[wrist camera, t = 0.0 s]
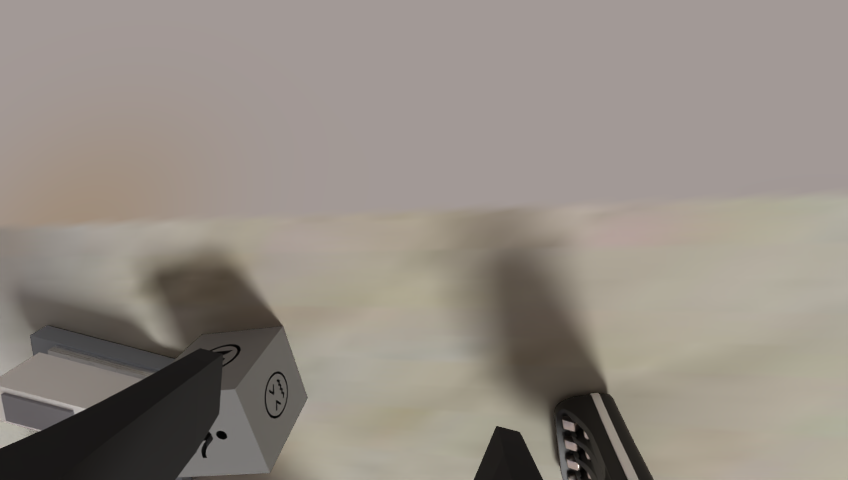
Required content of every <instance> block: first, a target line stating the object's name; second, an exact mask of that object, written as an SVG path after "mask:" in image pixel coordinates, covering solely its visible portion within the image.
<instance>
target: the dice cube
mask: <svg viewBox="0 0 848 480" xmlns="http://www.w3.org/2000/svg"><path fill="white" fill-rule="evenodd" d="M199 348H202V349H206V350H209V351H213V352H217V353H221V354H223V366H222V380H221V395H220V410H219V415H218V417H217V418H216V420H215V422H214V423H213V425H212V427H211V429H210V430H209V432H208V434H207V435H206V437H205V438H204V440H203V442H202V443H201V445H200V446H199V448H198V450H197V451H196V453H195V454H194V456H193V457H192V458H191V460H190V461H189V462H188V464H187V465H186V466H185V468H184V469H183V470H182V472H181V473H180V474H179V475H178V477H198V476H218V475H238V474H259V473H270V472H271V470H272V468H273V466H274V464H275V462H276V460H277V458H278V456H279V454H280V452H281V450H282V448H283V446H284V444H285V442H286V440H287V438H288V436H289V434H290V432H291V430H292V428H293V426H294V424H295V422H296V420H297V418H298V416H299V414H300V412H301V410H302V408H303V406H304V404H305V402H306V400H307V398H308V397H307V394H306V391H305V389H304V386H303V383H302V380H301V377H300V374H299V371H298V368H297V365H296V362H295V359H294V356H293V354H292V351H291V348H290V345H289V342H288V339H287V336H286V333H285V330H284V327H283V326H279V327H269V328H260V329H251V330H241V331H232V332H222V333H213V334H204V335H201V336H200V337H199V338H197V339H196V340H195V341H194V342H193V343H192V344H191V345H190V346H189V347H188V348H187V349H186V350H185V351H184V352H183V353H181V354H180V355H179V356H178V357H177V358H176V359H175V360H174V361H173V362H175V361H177V360H179V359H181V358H183V357H184V356H186V355H188V354H190V353H192V352H194V351H196V350H198V349H199ZM173 362H172V363H173ZM172 363H171V364H172Z"/></svg>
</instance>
